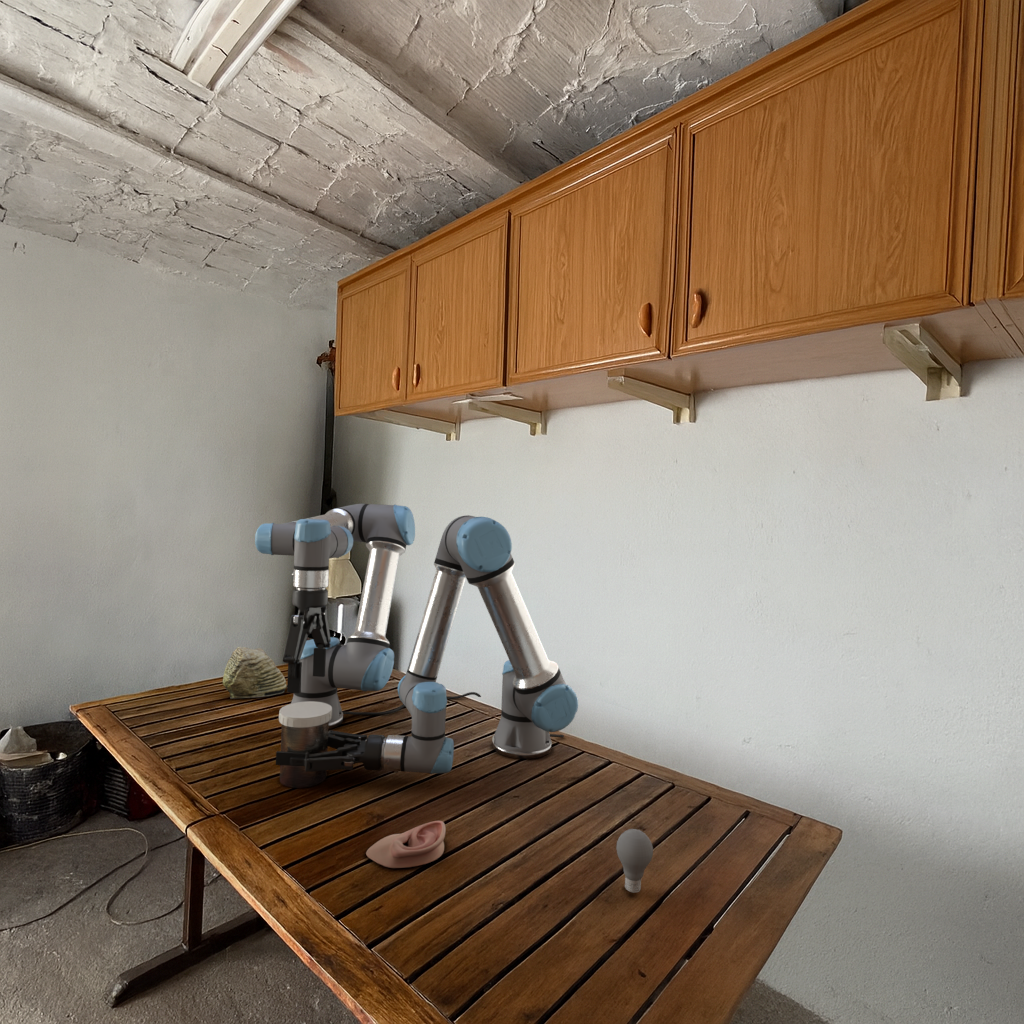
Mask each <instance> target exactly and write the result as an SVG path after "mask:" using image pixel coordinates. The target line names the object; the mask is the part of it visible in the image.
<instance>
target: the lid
mask: <svg viewBox="0 0 1024 1024" xmlns="http://www.w3.org/2000/svg"><path fill="white" fill-rule="evenodd" d="M331 718H332V707H331V706H330V705H329V704H326V703H323V702H314V701H307V702H297V703H292V704H291V703H289V704H287V705H284V706H282V707H281V708H279V712H278V723H279V724H281V725H282V724H283V725H285V726H289V727H296V728H304V727H314V726H318V725H322V724H325V723H327V722H328V721H330V720H331Z"/></svg>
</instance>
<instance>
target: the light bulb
mask: <svg viewBox="0 0 1024 1024" xmlns="http://www.w3.org/2000/svg"><path fill="white" fill-rule="evenodd" d="M615 849H616V854H617V857H618V859H619V861H620V863H621V865H622V867H623V873H624V874H623V875H624V876H625V878H624V888H625V890H627V891H628V892H630V893H634V894H635V893H639V892H640V891H641V889H642V887H641V886H642V879H643V877H644V875H645V871H646V868H647V867H648V866H649V864H650V863H651V861H652V859H653V855H654V847H653V843H652V841H651V838H649V836H648V835H647V834H646V833H645V832H643V831H642V830H641V829H636V828H629V829H627V830H625V831H623V832H622V833H621V834H620V835H619V837H618V839H617V841H616V847H615Z"/></svg>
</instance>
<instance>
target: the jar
mask: <svg viewBox="0 0 1024 1024" xmlns="http://www.w3.org/2000/svg"><path fill="white" fill-rule="evenodd" d="M328 727H329V721H328V722H327V723H325V724H322V725H318V726H314V727H304V728H296V727H289V726H285V725H283V724H281V733H280V734H281V735H280V737H281V738H280V740H281V741H280V751H285V752H307V751H308V752H309V755H310V754H316V753H322V752H329V750H328V749H329V747H328V731H329V730H328ZM327 775H328V770H327V771H313V772H306V771H305V766H288V765H279V782H280V784H281V785H282V786H285V787H288V788H292V789H294V788H295V789H305V788H309V787H310V788H311V787H314V786H317V785H320V784H321V783H323V782H324V781H325V780H326V778H327V777H328V776H327Z"/></svg>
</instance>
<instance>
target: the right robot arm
mask: <svg viewBox="0 0 1024 1024" xmlns="http://www.w3.org/2000/svg"><path fill="white" fill-rule="evenodd" d="M512 549H513V543H512V538H511V535H510V533H509V531H508V530H507V528H506V527H505V526H504V525H503V524H502V523H500V522H498V521H497V520H495V519H493V518H492V517H488V516H474V515H468V514H467V515H461V516H458V517H456V518H454V519H452V520H451V521H450V522H449V523H447V526H446V527H445V528H444V530H443V532H442V535H441V538H440V541H439V544H438V548H437V551H436V555H435V559H434V561H433V565H434V568H435V573H434V578H433V580H432V583H431V587H430V591H429V594H428V597H427V601H426V605H425V608H424V611H423V615H422V618H421V620H420V621H421V622H420V625H419V628H418V632H417V635H416V639H415V643H414V645H413V649H412V652H411V656H410V660H409V663H408V666H407V670H406V673H405V675H404V676H403V677H401V679H400V680H399V682H398V684H397V694H398V698H399V700H400V702H401V703H402V705H403V704H404V705H405V708H406V709H407V711H408V713H409V715H410V716H411V732H410V733H411V735H410V736H409V735H398V734H397V735H396V734H388V735H387V736H386V735H385V734H369V735H367V734H355V733H350V732H344V731H339V730H332V729H329V730H328V748H331V749H333V750H328V752H322V753H316V754H310V755H309V752H308V751H307V752H285V751H281V750H276V752H275V766H280V765H288V766H305V771H306V772H313V771H327V772H328V771H339V770H340V771H341V770H342V771H343V770H344V771H353V769H354V764H355V765H356V764H363V768H364V769H365V770H366V771H378V772H380V771H381V770H383V771H385V772H394V773H395V774H398V773H399V772H400V773H401V772H403V773H405V772H406V773H419V774H420V773H421V774H430V775H433V774H434V775H435V774H448V773H450V772H451V770H452V768H453V763H454V755H455V754H454V753H455V741H454V739H453V738H451V737H447V736H446V718H447V705H448V699H447V697H448V696H447V688H446V686H445V685H444V684H443V683H440V682H437V679H438V675H439V672H440V669H441V665H442V662H443V658H444V655H445V651H446V648H447V644H448V641H449V637H450V634H451V631H452V627H453V624H454V621H455V617H456V613H457V610H458V607H459V603H460V600H461V597H462V593H463V591H464V586H465V583H466V580H467V583H468V584H469V585H471V586H474V587H476V588H477V589H478V591H479V594H480V596H481V599H482V601H483V603H484V605H485V608H486V610H487V612H488V614H489V617H490V619H491V621H492V624H493V626H494V629H495V631H496V633H497V635H498V638H499V640H500V642H501V644H502V646H503V650H504V652H505V654H506V655H507V658H508V660H506V661H505V662H504V663H503V668H502V673H501V675H502V681H501V682H502V683H501V685H502V686H501V710H500V719H499V721H498V724H497V727H496V730H495V732H494V735H492V739H491V740H492V741H491V742H492V747H493V748H492V749H493V750H494V751H495V752H496V753H498V754H499V755H502V756H505V757H508V758H512V759H520V760H531V759H539V758H543V757H545V756H547V755H549V754H550V753H551V751H552V739H551V738H564V737H565V735H564V734H555V733H556V732H559V731H562V730H564V729H566V728H567V727H569V726H570V724H571V723H572V722H573V720H574V719H575V717H576V714H577V713H578V709H579V699H578V695H577V693H576V692H575V690H574V689H573V687H571V686H570V685H569V684H567V683H566V681H565V679H564V676H563V673H562V672H561V669H560V667H559V664H558V663H557V662H556V661H553V660H550V659H549V658H548V655H547V653H546V650H545V648H544V645H543V643H542V641H541V639H540V636H539V634H538V632H537V629H536V627H535V624H534V621H533V620H532V616H531V615H530V612H529V610H528V607H527V605H526V603H525V601H524V598H523V596H522V594H521V591H520V589H519V586H518V585H517V581H516V579H515V577H514V575H513V569H514V568H515V565H516V564H515V561H514V558H513V555H512Z"/></svg>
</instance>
